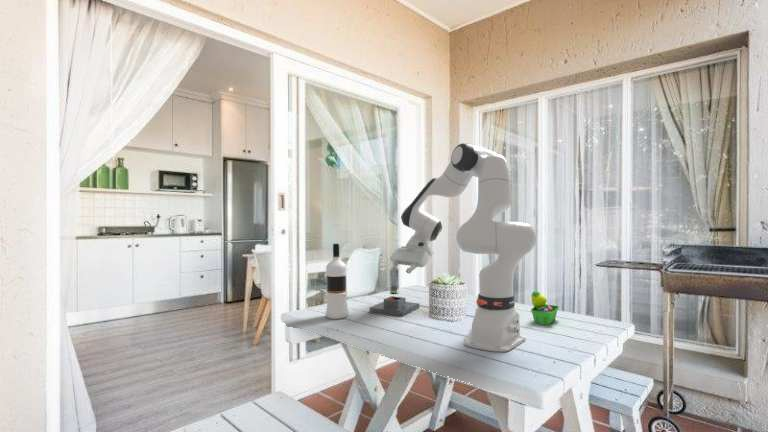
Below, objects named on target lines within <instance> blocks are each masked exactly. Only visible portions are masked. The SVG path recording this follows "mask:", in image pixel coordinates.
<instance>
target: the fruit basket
mask: <svg viewBox="0 0 768 432" xmlns="http://www.w3.org/2000/svg"><path fill="white" fill-rule="evenodd" d="M530 296H531V303H532V306H533V307H532V308H531V309H530V311H531V314H532V317H533V321H534V323H535V324H543V325H548V326H549V325H550V324H551V323H552V322H554V321H555V320H556V317H557V313H558V310H559V308H560V307H559V306H558V305H551V304H547V301H548V299H547V297H546V296H544V295H543V294H542V293H541V292H539V291H537V290H534V291H532V293H531V295H530Z"/></svg>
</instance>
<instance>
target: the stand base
mask: <svg viewBox="0 0 768 432" xmlns="http://www.w3.org/2000/svg"><path fill="white" fill-rule="evenodd" d="M406 300H407V299H406V297H402V296H394V295H393V296H392V295H391V296H389V297H386V298H384V299H383V301H381V302H378V303H377V304H375V305H372V306H369V307H368V308H369V309H368V311H369V313H373V314H379V315H387V316H394V317H395V316H396V317H405V316H406V315H408V314H411V313H412V311H413V312H415V311H416V310H418V309H420V303H419V302H410V301H409V302H408V301H406ZM410 312H411V313H410Z"/></svg>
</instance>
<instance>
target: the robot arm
mask: <svg viewBox="0 0 768 432" xmlns="http://www.w3.org/2000/svg"><path fill="white" fill-rule="evenodd" d="M472 177H477V179H478V182H477V183H478V184H477V187H478V188H477V190H478V191H477V192H478V193H477V204H476V208H475V211H474V212H473V214H472V216H470V218H469V219H468V220H467V221H465V222H464V223H463V224H461V225H460V227H459V228H458V231H456V232H457V233H456V241H457V245H458V247H459V248H460V250H462V251H463V252H465V253H471V254H474V255H497V256H498V257H497V259H496V260H495V261H494V262H492V263H490V264H487V265H486V266H484V267H482V268H481V270H480V271H479V273H478V274H479V275H478V276H479V277H478V279H479V281H478V283H479V285H478V289H479V290H478V291H479V293H478V295H477V299H476V301H475V302H476V306H477V307H476V308H475V312H474V315H473V319H472V323H471V328H470V329H469V330H468V332H467V335H466V338H465V339H464V342H463V343H464V346H466V347H469V348H472V349H478V350H484V351H491V352H508V351H510V350H512V349H513V348H516V347H518V345H520V344H521V343H523V342H525V341H526V336H525V335H523V334H521V322H520V321H521V319H520V313H519V312H518V311H517V310H516V308H515V302H516V299H515V294H514V278H515V271H516V268H517V266H518V264H519V263H520V261H521V260H522V259H523V258H524V257H525V256H526V255H527V254H529V253H530V252H531V251H532V250H533V249H534V247H535V246H536V242H537V235H536V232H535V229H534V228H533V227H532V226H531V224H529V223H525V222H521V221H520V222H519V221H495V220H493V219H494V218H495V217H497V215H501V214H502V213H505V212H506V211H507V210H508V209H509V208H510V207H511V204H512V192H511V190H512V189H511V187H512V186H511V185H512V184H511V175H510V170H509V164H508V161H507V159H506V158H505V157H504V156H503V155H502V154H500V153H499V152H494V151H492V150H490V149H487V148H485V147H483V146H478V145H473V144H471V143H459V144H458V145H457V146H455V148H454V149H453V150H452V154H451V158H450V162H449V163H448V164H447V166H446V168H445V170H444V171H443V173H442V174H441V175H440V176H438V177H437V178H436V177H433V178H432V179H430V180H429V181H428V182H427V183H426V184H425V186H424V187H423V188H422V189H421V191H420V192H419V193H418V194H417V196H416V197H415V198H414V199H413V201H412V202H411V203H410V204H409V205H408V206H407V207H406V208H405V209H404V210H403V211H402V213H401V216H400V219H401V223H402V224H403V226H406V227H407V228H409V229H412V230H413V231H414V234H413V235H411V237H410V238H409V240H408V241H407V243H406V244H405V246H401V247H398V248H396V249H395V250H394V252H393V253H392V254H391V255H390V257H389V258H390V259H389V260H390V261H391V262H392V267H391V268H390V269H398V267H397V266H399V265H403V266H409V267H407V268H406V270H405V272H406V273H407V274H410V275H411V273H412V272H413V271H414V270H416V269H417V268H424V267H425V266H426V265H427V264H428V263H429V261H430V259H431V256H432V255H433V254H434V253H433V250H432V249H431V248H430V246H429V245H430V243H432V242H433V241H435V240H437V237H438V236H439V235H440V233H441V232H442V230H443V225H442V224H443V223H442V222H441V220H440V219H438V218H437V217H436V216H434V215H432V214H430V213H429V212H427V211H425V210H423V209H422V208H421V206H422V205H423V204H424V202H425V201H426V200H427V199H428V197H430V196H440V197H443V198H454V197H458V196H460V195H462V194H463V193H464V191H465V190H466V188H467V187H468V185H469V183H470V181H471V180H472Z"/></svg>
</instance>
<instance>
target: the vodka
mask: <svg viewBox="0 0 768 432" xmlns="http://www.w3.org/2000/svg"><path fill="white" fill-rule="evenodd" d="M347 267H348V266H347V264H346V263H345V262H343V261H342V260H341V259H340V244H339V243H333V244H332V260H331V261H329V262H328V263H327V264H326V268H325V270H326V273H325V274H326V310H325V316H326V317H327V318H328V319H329V320H342V319H345V318H347V317H349V312H350V311H349V308H348V295H347V294H348V291H347V275H348V274H347V269H348V268H347Z"/></svg>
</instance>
